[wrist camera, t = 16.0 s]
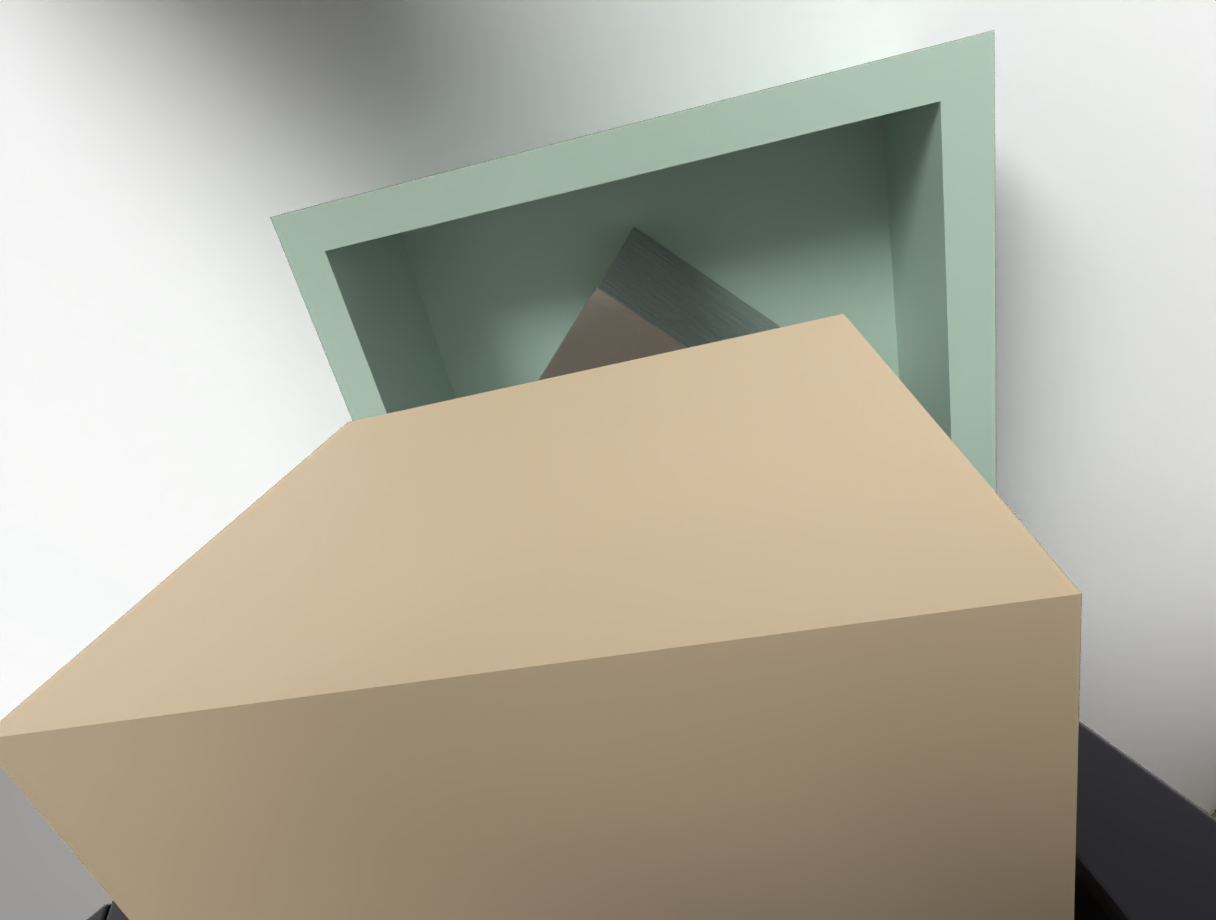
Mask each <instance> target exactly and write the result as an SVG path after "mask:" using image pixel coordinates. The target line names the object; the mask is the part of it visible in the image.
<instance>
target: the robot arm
mask: <svg viewBox="0 0 1216 920" xmlns="http://www.w3.org/2000/svg"><path fill="white" fill-rule="evenodd" d="M87 920H129V919H128V918H127V917H126V915H125V914H124V913H123V912H122V911H121V909H120V908H119V907H118V906H117V905H116V903H115V902H114V901H112V904H105V905H104V906H103V907H102V908H100V909H99V910H98V911H97V912H95V913H94V914H93V915H92V916H91V917H89V918H88V919H87ZM1074 920H1216V819H1215V818H1214V817H1212V816H1211V815H1209V814H1208V813H1207V812H1205V811H1204V810H1202V809H1201V808H1200V807H1198V806H1197V805H1195V804H1194V803H1193V802H1191V801H1190V800H1188V799H1187V798H1186V797H1184V796H1183V795H1182V794H1180V793H1179V792H1177V791H1176V790H1175V789H1173V788H1172V787H1170V786H1169V785H1168V784H1166V783H1165V782H1163V781H1162V780H1161V779H1159V778H1158V777H1156V776H1155V775H1154V774H1152V773H1151V772H1149V771H1148V770H1147V769H1145V768H1144V767H1142V766H1141V765H1140V764H1138V763H1137V762H1135V761H1134V760H1133V759H1131V758H1130V757H1128V756H1127V755H1126V754H1124V753H1123V752H1121V751H1120V750H1119V749H1117V748H1116V747H1114V746H1113V745H1112V744H1110V743H1109V742H1108V741H1106V740H1105V739H1103V738H1102V737H1101V736H1099V735H1098V734H1096V733H1095V732H1094V731H1092V730H1091V729H1089V728H1088V727H1087V726H1085V725H1084V724H1082V723H1081V722H1080V721H1079V731H1078V773H1077V815H1076V856H1075V898H1074Z"/></svg>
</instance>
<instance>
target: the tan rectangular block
mask: <svg viewBox="0 0 1216 920" xmlns="http://www.w3.org/2000/svg"><path fill="white" fill-rule="evenodd" d="M1081 606H1082V593H1081V592H1080V591H1079V590H1078V589H1077V587H1076V586H1075V585H1074V584H1073V583H1072V582H1071V580H1070V579H1069V578H1068V577H1067V576H1066V575H1065V573H1064V572H1063V571H1062V570H1061V569H1060V567H1059V566H1058V565H1057V564H1056V563H1055V562H1054V560H1053V559H1052V558H1051V557H1050V556H1049V555H1048V553H1047V552H1046V551H1045V550H1044V549H1043V547H1042V546H1041V545H1040V544H1039V543H1038V542H1037V540H1036V539H1035V538H1034V537H1033V536H1032V535H1031V533H1030V532H1029V531H1028V530H1027V529H1026V527H1025V526H1024V525H1023V524H1022V523H1021V522H1020V520H1019V519H1018V518H1017V517H1016V516H1015V515H1014V513H1013V512H1012V511H1011V510H1010V509H1009V507H1008V506H1007V505H1006V504H1005V503H1004V502H1003V500H1002V499H1001V498H1000V497H999V496H998V495H997V493H996V492H995V491H994V490H993V489H992V487H991V486H990V485H989V484H988V483H987V482H986V480H985V479H984V478H983V477H982V476H981V475H980V473H979V472H978V471H977V470H976V469H975V468H974V466H973V465H972V464H971V463H970V462H969V460H968V459H967V458H966V457H965V456H964V455H963V453H962V452H961V451H960V450H959V449H958V448H957V446H956V445H955V444H954V443H953V442H952V440H951V439H950V438H949V437H948V436H947V435H946V433H945V432H944V431H943V430H942V429H941V428H940V426H939V425H938V424H937V423H936V422H935V420H934V419H933V418H932V417H931V416H930V415H929V413H928V412H927V411H926V410H925V409H924V408H923V406H922V405H921V404H920V403H919V402H918V400H917V399H916V398H915V397H914V396H913V395H912V393H911V392H910V391H909V390H908V389H907V388H906V386H905V385H904V384H903V383H902V382H901V380H900V379H899V378H898V377H897V376H896V375H895V373H894V372H893V371H892V370H891V369H890V368H889V366H888V365H887V364H886V363H885V362H884V360H883V359H882V358H881V357H880V356H879V355H878V353H877V352H876V351H875V350H874V349H873V348H872V346H871V345H870V344H869V343H868V342H867V341H866V339H865V338H864V337H863V336H862V335H861V333H860V332H859V331H858V330H857V329H856V328H855V326H854V325H853V324H852V323H851V322H850V321H849V319H848V318H847V317H846V316H845V315H844V314H840V315H836V316H831V317H827V318H822V319H818V320H813V321H808V322H804V323H799V324H795V325H790V326H786V327H781V328H776V329H772V330H767V331H763V332H758V333H754V334H749V335H744V336H740V337H735V338H731V339H726V340H722V341H717V342H712V343H708V344H703V345H699V346H694V347H690V348H685V349H680V350H676V351H671V352H667V353H662V354H658V355H653V356H648V357H644V358H639V359H635V360H630V361H626V362H621V363H617V364H612V365H607V366H603V367H598V368H594V369H589V370H585V371H580V372H575V373H571V374H566V375H562V376H557V377H553V378H548V379H543V380H539V381H534V382H530V383H525V384H521V385H516V386H511V387H507V388H502V389H498V390H493V391H489V392H484V393H479V394H475V395H470V396H466V397H461V398H457V399H452V400H447V401H443V402H438V403H434V404H429V405H425V406H420V407H416V408H411V409H406V410H402V411H397V412H393V413H388V414H384V415H379V416H374V417H370V418H365V419H361V420H356V421H352V422H347V423H346V424H345V425H344V426H343V427H342V428H340V429H339V430H338V431H337V432H336V433H335V434H333V435H332V436H331V437H330V438H329V439H328V440H327V441H325V442H324V443H323V444H322V445H321V446H320V447H318V448H317V449H316V450H315V451H314V452H313V453H311V454H310V455H309V456H308V457H307V458H306V459H304V460H303V461H302V462H301V463H300V464H299V465H297V466H296V467H295V468H294V469H293V470H292V471H290V472H289V473H288V474H287V475H286V476H285V477H283V478H282V479H281V480H280V481H279V482H278V483H277V484H275V485H274V486H273V487H272V488H271V489H270V490H268V491H267V492H266V493H265V494H264V495H263V496H261V497H260V498H259V499H258V500H257V501H256V502H254V503H253V504H252V505H251V506H250V507H249V508H247V509H246V510H245V511H244V512H243V513H242V514H240V515H239V516H238V517H237V518H236V519H235V520H234V521H232V522H231V523H230V524H229V525H228V526H227V527H225V528H224V529H223V530H222V531H221V532H220V533H218V534H217V535H216V536H215V537H214V538H213V539H211V540H210V541H209V542H208V543H207V544H206V545H204V546H203V547H202V548H201V549H200V550H199V551H197V552H196V553H195V554H194V555H193V556H192V557H190V558H189V559H188V560H187V561H186V562H185V563H184V564H182V565H181V566H180V567H179V568H178V569H177V570H175V571H174V572H173V573H172V574H171V575H170V576H168V577H167V578H166V579H165V580H164V581H163V582H161V583H160V584H159V585H158V586H157V587H156V588H154V589H153V590H152V591H151V592H150V593H149V594H147V595H146V596H145V597H144V598H143V599H142V600H141V601H139V602H138V603H137V604H136V605H135V606H134V607H132V608H131V609H130V610H129V611H128V612H127V613H125V614H124V615H123V616H122V617H121V618H120V619H118V620H117V621H116V622H115V623H114V624H113V625H111V626H110V627H109V628H108V629H107V630H106V631H104V632H103V633H102V634H101V635H100V636H99V637H97V638H96V639H95V640H94V641H93V642H92V643H91V644H89V645H88V646H87V647H86V648H85V649H84V650H82V651H81V652H80V653H79V654H78V655H77V656H75V657H74V658H73V659H72V660H71V661H70V662H68V663H67V664H66V665H65V666H64V667H63V668H61V669H60V670H59V671H58V672H57V673H56V674H54V675H53V676H52V677H51V678H50V679H49V680H48V681H46V682H45V683H44V684H43V685H42V686H41V687H39V688H38V689H37V690H36V691H35V692H34V693H32V694H31V695H30V696H29V697H28V698H27V699H25V700H24V701H23V702H22V703H21V704H20V705H18V706H17V707H16V708H15V709H14V710H13V711H11V712H10V713H9V714H8V715H7V716H6V717H4V718H3V719H2V720H1V721H0V766H1V767H2V768H3V769H4V771H5V772H6V773H7V774H8V775H9V776H10V778H11V779H12V780H13V781H14V783H15V784H16V785H17V786H18V787H19V789H20V790H21V791H22V792H23V793H24V795H26V797H27V798H28V799H29V801H30V802H31V803H32V804H33V805H34V807H35V808H36V809H37V810H38V811H39V812H40V814H41V815H42V816H43V817H44V818H45V820H46V821H47V822H48V823H49V824H50V826H51V827H52V828H53V829H54V830H55V831H56V833H57V834H58V835H59V836H60V837H61V839H62V840H63V841H64V842H65V844H66V845H67V846H68V847H69V848H70V849H71V851H72V852H73V853H74V854H75V856H76V857H77V858H78V859H79V860H80V862H81V863H82V864H83V865H84V866H85V868H86V869H87V870H88V871H89V872H90V873H91V875H92V876H93V877H94V878H95V879H96V881H97V882H98V883H99V884H100V885H101V887H102V888H103V889H104V890H105V891H106V892H107V894H108V895H109V896H110V897H111V898H112V900H113V901H114V902H115V903H116V905H117V906H118V907H119V908H120V909H121V911H122V912H123V913H124V914H125V915H126V917H127V918H128V919H129V920H1074V898H1075V856H1076V815H1077V773H1078V731H1079V689H1080V647H1081Z"/></svg>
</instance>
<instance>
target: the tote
mask: <svg viewBox="0 0 1216 920" xmlns="http://www.w3.org/2000/svg"><path fill="white" fill-rule="evenodd" d="M270 218H271V220H272V223H273V225H274V228H275V230H276V233H277V235H278V238H279V240H280V243H281V245H282V248H283V250H284V252H285V255H286V257H287V260H288V262H289V265H290V267H291V270H292V272H293V275H294V277H295V280H296V282H297V285H298V287H299V289H300V292H301V294H302V297H303V299H304V302H305V304H306V307H307V309H308V312H309V314H310V317H311V319H312V322H313V324H314V327H315V329H316V331H317V334H318V336H319V339H320V341H321V344H322V346H323V349H324V351H325V354H326V356H327V359H328V361H329V364H330V366H331V369H332V371H333V373H334V376H335V378H336V381H337V383H338V386H339V388H340V391H341V393H342V396H343V398H344V401H345V403H346V406H347V408H348V410H349V413H350V415H351V418H352V420H353V421H356V420H361V419H365V418H370V417H374V416H379V415H384V414H388V413H393V412H397V411H402V410H406V409H411V408H416V407H420V406H425V405H429V404H434V403H438V402H443V401H447V400H452V399H457V398H461V397H466V396H470V395H475V394H479V393H484V392H489V391H493V390H498V389H502V388H507V387H511V386H516V385H521V384H525V383H530V382H534V381H538V379H539V378H540V376H541V375H542V373H543V371H544V370H545V368H546V367H547V365H548V363H549V362H550V360H551V359H552V357H553V355H554V354H555V352H556V351H557V349H558V347H559V346H560V344H561V342H562V341H563V339H564V338H565V336H566V334H567V333H568V331H569V330H570V328H571V326H572V325H573V323H574V322H575V320H576V318H577V317H578V315H579V314H580V312H581V310H582V309H583V307H584V306H585V304H586V302H587V301H588V299H589V298H590V296H591V294H592V293H593V291H594V290H595V288H596V286H597V285H598V283H599V282H600V280H601V278H602V277H603V275H604V273H605V272H606V270H607V269H608V267H609V265H610V264H611V262H612V261H613V259H614V257H615V256H616V254H617V253H618V251H619V249H620V248H621V246H622V245H623V243H624V241H625V240H626V238H627V237H628V235H629V233H630V232H631V230H632V229H633V227H636V228H637V229H639V230H640V231H642V232H643V233H645V234H646V235H647V236H649V237H650V238H652V239H653V240H655V241H656V242H658V243H659V244H661V245H662V246H664V247H665V248H666V249H668V250H669V251H671V252H672V253H674V254H675V255H677V256H678V257H680V258H681V259H682V260H684V261H685V262H687V263H688V264H690V265H691V266H693V267H694V268H696V269H697V270H699V271H700V272H701V273H703V274H704V275H706V276H707V277H709V278H710V279H712V280H713V281H715V282H716V283H718V284H719V285H720V286H722V287H723V288H725V289H726V290H728V291H729V292H731V293H732V294H734V295H735V296H736V297H738V298H739V299H741V300H742V301H744V302H745V303H747V304H748V305H750V306H751V307H753V308H754V309H755V310H757V311H758V312H760V313H761V314H763V315H764V316H766V317H767V318H769V319H770V320H771V321H773V322H774V323H776V324H777V325H779V326H780V327H786V326H790V325H795V324H799V323H804V322H808V321H813V320H818V319H822V318H827V317H831V316H836V315H840V314H844V315H845V316H846V317H847V318H848V319H849V321H850V322H851V323H852V324H853V325H854V326H855V328H856V329H857V330H858V331H859V332H860V333H861V335H862V336H863V337H864V338H865V339H866V341H867V342H868V343H869V344H870V345H871V346H872V348H873V349H874V350H875V351H876V352H877V353H878V355H879V356H880V357H881V358H882V359H883V360H884V362H885V363H886V364H887V365H888V366H889V368H890V369H891V370H892V371H893V372H894V373H895V375H896V376H897V377H898V378H899V379H900V380H901V382H902V383H903V384H904V385H905V386H906V388H907V389H908V390H909V391H910V392H911V393H912V395H913V396H914V397H915V398H916V399H917V400H918V402H919V403H920V404H921V405H922V406H923V408H924V409H925V410H926V411H927V412H928V413H929V415H930V416H931V417H932V418H933V419H934V420H935V422H936V423H937V424H938V425H939V426H940V428H941V429H942V430H943V431H944V432H945V433H946V435H947V436H948V437H949V438H950V439H951V440H952V442H953V443H954V444H955V445H956V446H957V448H958V449H959V450H960V451H961V452H962V453H963V455H964V456H965V457H966V458H967V459H968V460H969V462H970V463H971V464H972V465H973V466H974V468H975V469H976V470H977V471H978V472H979V473H980V475H981V476H982V477H983V478H984V479H985V480H986V482H987V483H988V484H989V485H990V486H991V487H992V489H993V490H994V491H995V492H996V339H995V53H994V30H993V31H989V32H985V33H981V34H977V35H973V36H969V37H966V38H962V39H958V40H954V41H950V42H946V43H942V44H938V45H935V46H931V47H927V48H923V49H919V50H915V51H911V52H908V53H904V54H900V55H896V56H892V57H888V58H884V59H880V60H877V61H873V62H869V63H865V64H861V65H857V66H853V67H849V68H846V69H842V70H838V71H834V72H830V73H826V74H822V75H819V76H815V77H811V78H807V79H803V80H799V81H795V82H791V83H788V84H784V85H780V86H776V87H772V88H768V89H764V90H760V91H757V92H753V93H749V94H745V95H741V96H737V97H733V98H729V99H726V100H722V101H718V102H714V103H710V104H706V105H702V106H699V107H695V108H691V109H687V110H683V111H679V112H675V113H671V114H668V115H664V116H660V117H656V118H652V119H648V120H644V121H640V122H637V123H633V124H629V125H625V126H621V127H617V128H613V129H610V130H606V131H602V132H598V133H594V134H590V135H586V136H582V137H579V138H575V139H571V140H567V141H563V142H559V143H555V144H551V145H548V146H544V147H540V148H536V149H532V150H528V151H524V152H520V153H517V154H513V155H509V156H505V157H501V158H497V159H493V160H490V161H486V162H482V163H478V164H474V165H470V166H466V167H462V168H459V169H455V170H451V171H447V172H443V173H439V174H435V175H431V176H428V177H424V178H420V179H416V180H412V181H408V182H404V183H400V184H397V185H393V186H389V187H385V188H381V189H377V190H373V191H370V192H366V193H362V194H358V195H354V196H350V197H346V198H342V199H339V200H335V201H331V202H327V203H323V204H319V205H315V206H311V207H308V208H304V209H300V210H296V211H292V212H288V213H284V214H281V215H277V216H273V217H270Z"/></svg>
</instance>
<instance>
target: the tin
mask: <svg viewBox="0 0 1216 920" xmlns="http://www.w3.org/2000/svg"><path fill="white" fill-rule="evenodd" d="M776 328H781V327H780V326H779V325H777V324H776V323H774V322H773V321H771V320H770V319H769V318H767V317H766V316H764V315H763V314H761V313H760V312H758V311H757V310H755V309H754V308H753V307H751V306H750V305H748V304H747V303H745V302H744V301H742V300H741V299H739V298H738V297H736V296H735V295H734V294H732V293H731V292H729V291H728V290H726V289H725V288H723V287H722V286H720V285H719V284H718V283H716V282H715V281H713V280H712V279H710V278H709V277H707V276H706V275H704V274H703V273H701V272H700V271H699V270H697V269H696V268H694V267H693V266H691V265H690V264H688V263H687V262H685V261H684V260H682V259H681V258H680V257H678V256H677V255H675V254H674V253H672V252H671V251H669V250H668V249H666V248H665V247H664V246H662V245H661V244H659V243H658V242H656V241H655V240H653V239H652V238H650V237H649V236H647V235H646V234H645V233H643V232H642V231H640V230H639V229H637V228H636V227H633V229H632V230H631V232H630V233H629V235H628V237H627V238H626V240H625V241H624V243H623V245H622V246H621V248H620V249H619V251H618V253H617V254H616V256H615V257H614V259H613V261H612V262H611V264H610V265H609V267H608V269H607V270H606V272H605V273H604V275H603V277H602V278H601V280H600V282H599V283H598V285H597V286H596V288H595V290H594V291H593V293H592V294H591V296H590V298H589V299H588V301H587V302H586V304H585V306H584V307H583V309H582V310H581V312H580V314H579V315H578V317H577V318H576V320H575V322H574V323H573V325H572V326H571V328H570V330H569V331H568V333H567V334H566V336H565V338H564V339H563V341H562V342H561V344H560V346H559V347H558V349H557V351H556V352H555V354H554V355H553V357H552V359H551V360H550V362H549V363H548V365H547V367H546V368H545V370H544V371H543V373H542V375H541V376H540V378H539V379H538V381H539V380H543V379H548V378H553V377H557V376H562V375H566V374H571V373H575V372H580V371H585V370H589V369H594V368H598V367H603V366H607V365H612V364H617V363H621V362H626V361H630V360H635V359H639V358H644V357H648V356H653V355H658V354H662V353H667V352H671V351H676V350H680V349H685V348H690V347H694V346H699V345H703V344H708V343H712V342H717V341H722V340H726V339H731V338H735V337H740V336H744V335H749V334H754V333H758V332H763V331H767V330H772V329H776Z"/></svg>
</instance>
